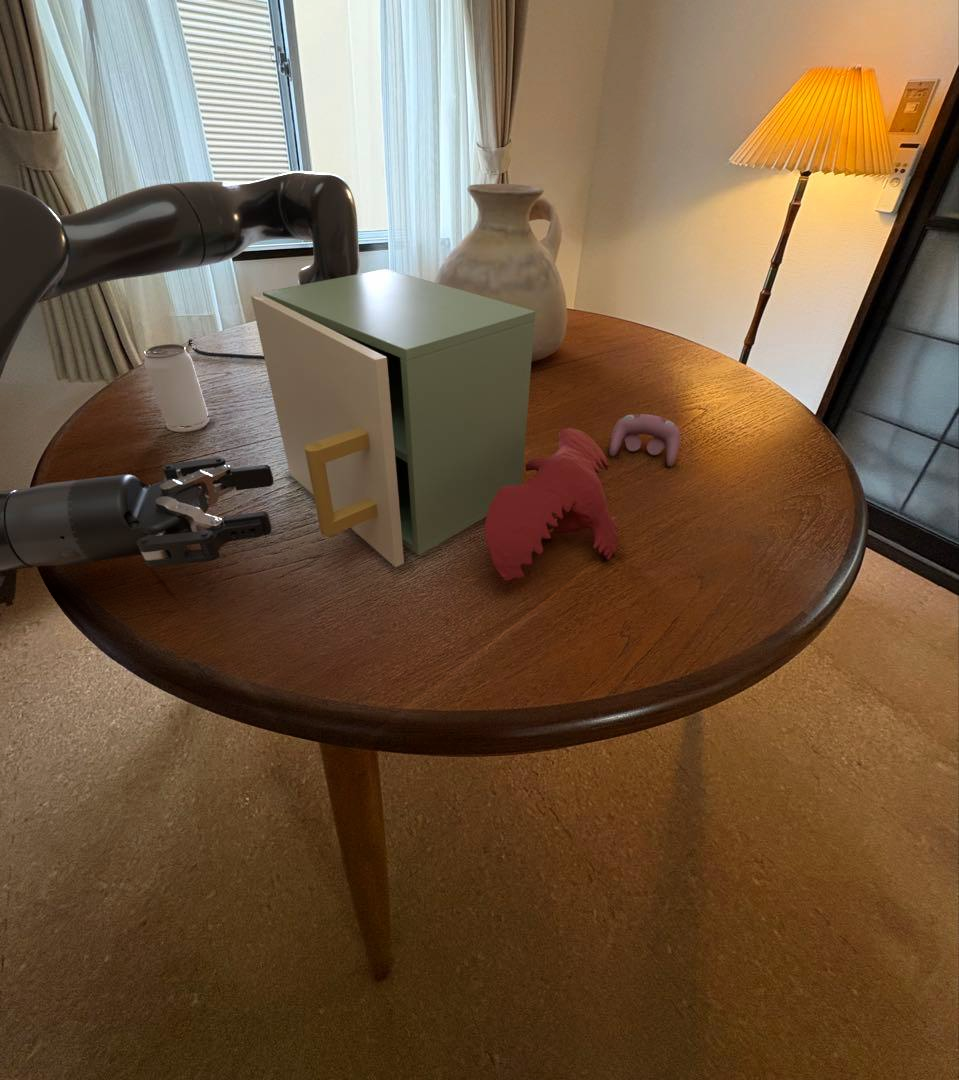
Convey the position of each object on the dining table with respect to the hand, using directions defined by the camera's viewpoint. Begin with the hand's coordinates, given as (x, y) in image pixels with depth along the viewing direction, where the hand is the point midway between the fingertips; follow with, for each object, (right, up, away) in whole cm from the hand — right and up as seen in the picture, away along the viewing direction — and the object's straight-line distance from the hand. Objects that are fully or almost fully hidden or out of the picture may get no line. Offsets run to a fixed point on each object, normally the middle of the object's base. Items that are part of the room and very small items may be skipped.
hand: (270, 497), depth 55 cm
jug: (+25, +37, +66) cm, 79 cm away
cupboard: (+10, +4, +23) cm, 25 cm away
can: (-26, +14, +36) cm, 47 cm away
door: (0, -2, +15) cm, 15 cm away
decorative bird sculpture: (+31, -4, +13) cm, 34 cm away
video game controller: (+45, +9, +30) cm, 55 cm away
